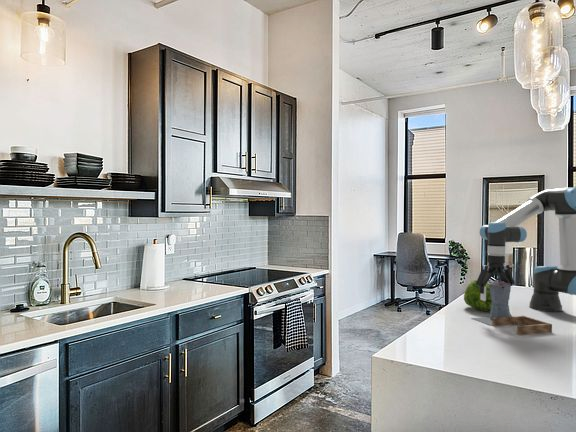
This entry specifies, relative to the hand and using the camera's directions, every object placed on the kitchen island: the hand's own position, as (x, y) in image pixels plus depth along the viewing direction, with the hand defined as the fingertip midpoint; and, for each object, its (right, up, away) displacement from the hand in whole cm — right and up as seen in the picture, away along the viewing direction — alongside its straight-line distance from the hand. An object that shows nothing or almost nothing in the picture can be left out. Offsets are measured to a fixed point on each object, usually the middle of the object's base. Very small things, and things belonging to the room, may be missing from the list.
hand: (494, 299), depth 202 cm
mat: (0, -10, 0) cm, 10 cm away
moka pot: (+3, -10, +2) cm, 10 cm away
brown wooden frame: (+5, -10, -13) cm, 17 cm away
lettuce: (+6, -10, +22) cm, 25 cm away
